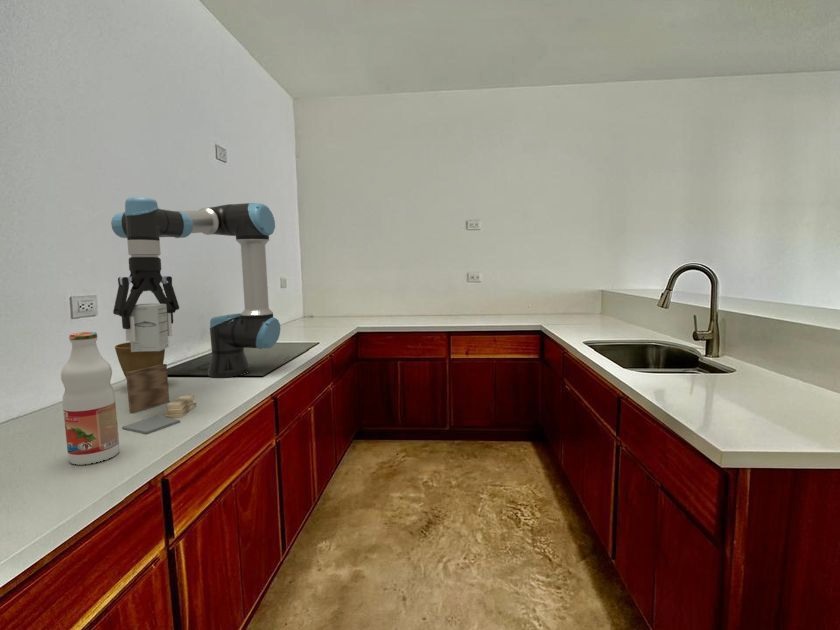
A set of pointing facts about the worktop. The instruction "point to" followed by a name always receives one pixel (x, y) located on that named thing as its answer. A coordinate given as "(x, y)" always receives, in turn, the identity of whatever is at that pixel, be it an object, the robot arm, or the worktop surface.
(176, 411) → the pine offcuts
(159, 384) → the walnut rack
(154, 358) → the plant pot
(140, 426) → the slate mat
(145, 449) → the worktop surface
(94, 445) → the fruit juice
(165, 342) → the supplement box
